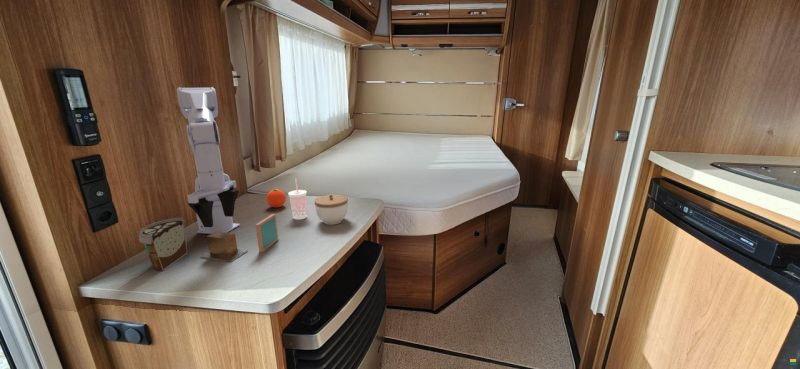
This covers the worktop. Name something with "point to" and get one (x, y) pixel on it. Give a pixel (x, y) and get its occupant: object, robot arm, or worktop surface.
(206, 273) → the worktop surface
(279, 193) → the clementine
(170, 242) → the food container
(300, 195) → the beverage cup
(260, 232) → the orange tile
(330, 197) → the lidded jar
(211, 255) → the tan block on plate
